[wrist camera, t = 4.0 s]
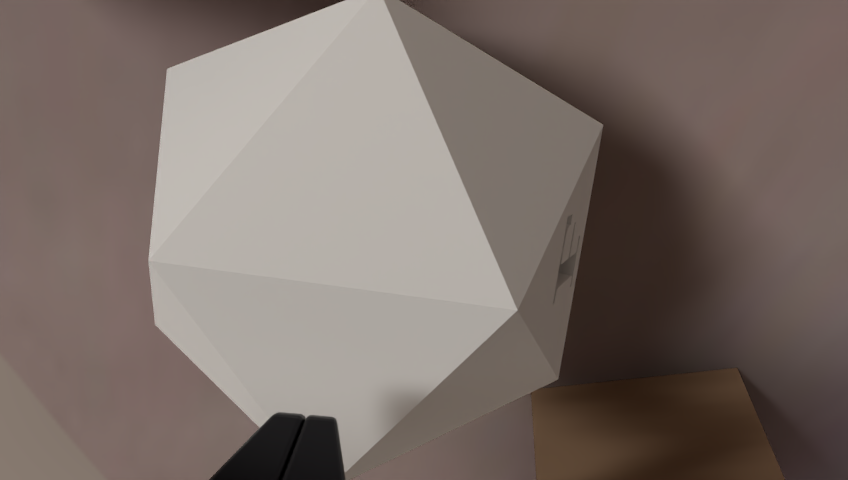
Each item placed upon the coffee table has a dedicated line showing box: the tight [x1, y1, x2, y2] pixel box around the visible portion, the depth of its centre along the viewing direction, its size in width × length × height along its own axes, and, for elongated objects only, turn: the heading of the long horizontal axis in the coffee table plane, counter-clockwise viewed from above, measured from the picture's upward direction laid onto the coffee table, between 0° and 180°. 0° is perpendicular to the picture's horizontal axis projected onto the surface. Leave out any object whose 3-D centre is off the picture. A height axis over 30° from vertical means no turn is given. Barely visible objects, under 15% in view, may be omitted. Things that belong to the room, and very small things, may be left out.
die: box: [149, 0, 603, 480], centre depth 14 cm, size 8×9×10 cm
